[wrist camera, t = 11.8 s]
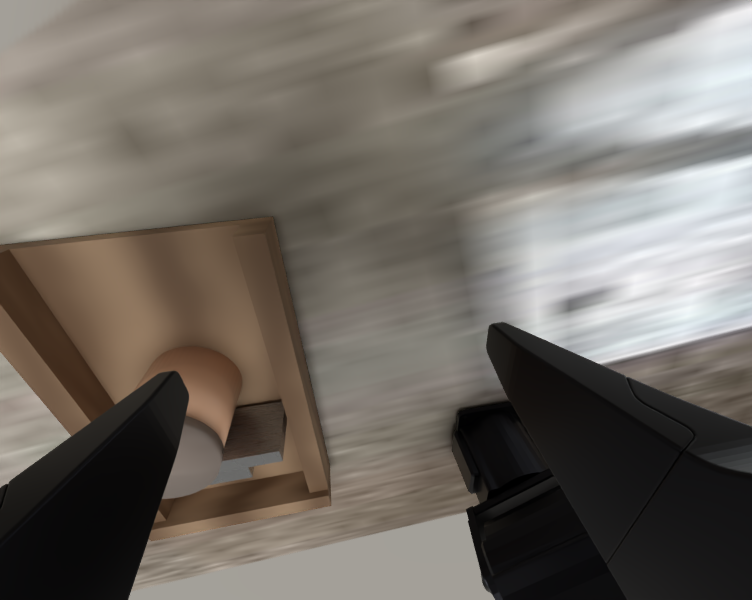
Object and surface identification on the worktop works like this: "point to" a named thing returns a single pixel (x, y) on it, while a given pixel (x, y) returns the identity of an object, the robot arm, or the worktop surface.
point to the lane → (169, 344)
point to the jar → (200, 414)
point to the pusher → (253, 441)
